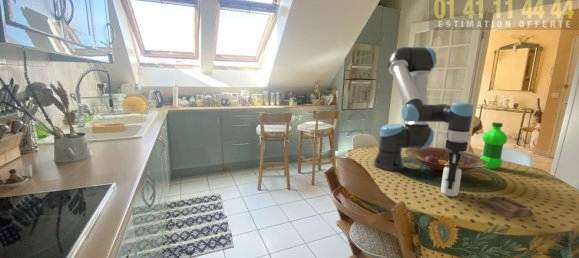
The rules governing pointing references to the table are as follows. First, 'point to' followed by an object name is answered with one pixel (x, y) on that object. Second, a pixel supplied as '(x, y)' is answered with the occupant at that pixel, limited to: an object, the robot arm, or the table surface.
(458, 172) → the can
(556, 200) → the table surface
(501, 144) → the plastic bottle
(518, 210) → the tray
